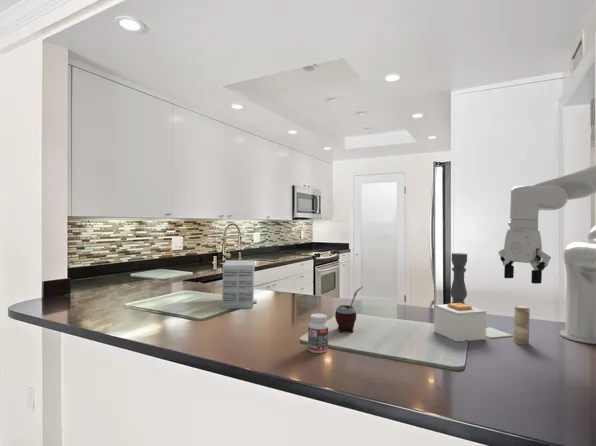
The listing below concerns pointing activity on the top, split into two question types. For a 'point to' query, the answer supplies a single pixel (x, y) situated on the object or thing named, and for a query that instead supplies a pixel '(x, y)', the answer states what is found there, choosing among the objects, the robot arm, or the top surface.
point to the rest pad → (496, 333)
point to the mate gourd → (346, 316)
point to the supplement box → (238, 284)
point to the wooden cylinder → (521, 325)
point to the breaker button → (459, 306)
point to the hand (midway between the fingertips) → (522, 280)
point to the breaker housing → (460, 323)
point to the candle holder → (458, 278)
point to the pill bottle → (318, 333)
